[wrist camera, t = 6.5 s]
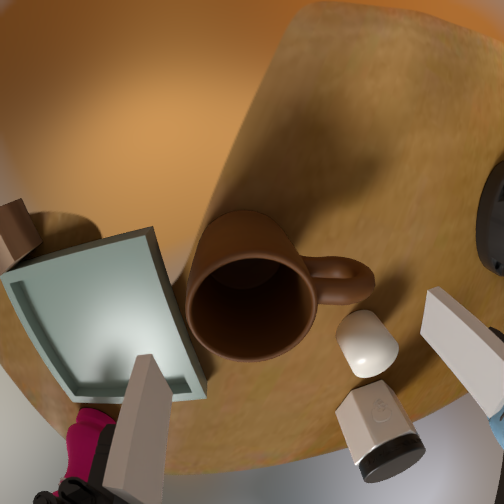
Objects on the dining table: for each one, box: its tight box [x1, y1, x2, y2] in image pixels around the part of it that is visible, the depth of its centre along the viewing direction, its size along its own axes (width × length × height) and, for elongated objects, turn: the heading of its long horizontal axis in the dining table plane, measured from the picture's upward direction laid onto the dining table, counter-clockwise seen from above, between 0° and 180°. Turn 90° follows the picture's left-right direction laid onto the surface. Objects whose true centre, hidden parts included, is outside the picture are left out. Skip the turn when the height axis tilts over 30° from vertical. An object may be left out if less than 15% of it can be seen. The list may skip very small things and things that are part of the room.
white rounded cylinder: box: [336, 310, 399, 378], centre depth 26 cm, size 5×5×5 cm
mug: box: [185, 210, 375, 362], centre depth 20 cm, size 12×8×9 cm, turn 95°
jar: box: [335, 380, 426, 483], centre depth 28 cm, size 9×8×12 cm
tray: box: [0, 226, 207, 404], centre depth 24 cm, size 18×18×2 cm
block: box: [0, 198, 43, 276], centre depth 19 cm, size 5×5×5 cm
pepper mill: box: [52, 408, 116, 497], centre depth 22 cm, size 7×7×20 cm
